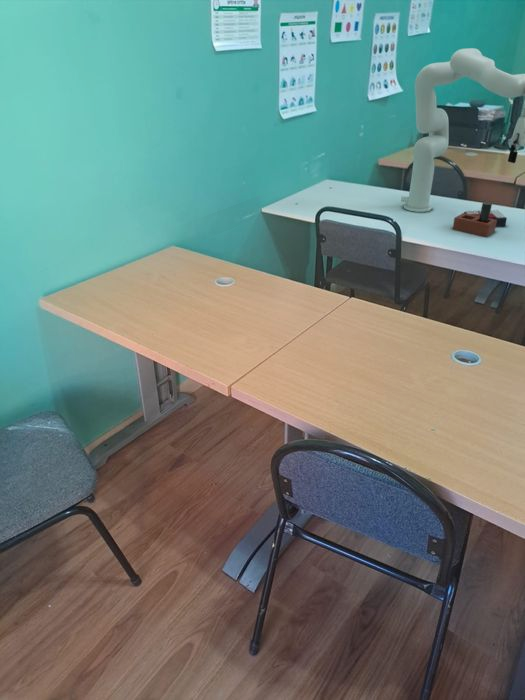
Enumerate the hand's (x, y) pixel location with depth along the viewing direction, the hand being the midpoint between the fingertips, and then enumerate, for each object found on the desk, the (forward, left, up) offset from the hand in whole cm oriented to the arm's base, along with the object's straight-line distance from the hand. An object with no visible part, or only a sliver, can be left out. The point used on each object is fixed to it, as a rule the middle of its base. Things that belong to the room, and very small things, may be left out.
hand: (520, 161), depth 201 cm
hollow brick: (-9, -8, -28) cm, 31 cm away
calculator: (-10, +5, -28) cm, 30 cm away
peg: (-6, -8, -28) cm, 30 cm away
